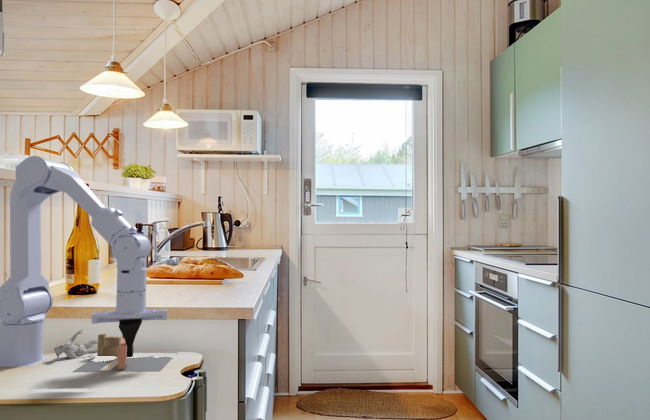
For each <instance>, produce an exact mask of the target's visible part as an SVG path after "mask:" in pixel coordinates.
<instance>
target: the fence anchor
mask: <svg viewBox="0 0 650 420" xmlns="http://www.w3.org/2000/svg"><path fill="white" fill-rule="evenodd" d="M121 336H122V337H121ZM121 336H107V333H99V334H98V336H97V340H98V343H97V347H98V352H96V353H97V354H96V356H118V346H119V345H121V342H122V338H124V337H123V335H122V334H121Z"/></svg>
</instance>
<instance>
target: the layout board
mask: <svg viewBox="0 0 650 420" xmlns="http://www.w3.org/2000/svg"><path fill="white" fill-rule="evenodd" d="M133 353H177V354H178V353H179V352H178V351H172V352H171V351H169V352H167V351H166V352H165V351H153V352H151V351H150V352H148V351H146V352H145V351H140V352H137V351H135V352H134V351H133ZM115 357H117V358H116V359H114V360H111V361H110V360H109V361H105V362H104V361H102V362H100V361H99V362H94V361H90V360H89V361H87V362H86V363H85V362H84V364H82V365H81V366H79V367H78V368H75V369H74V370H73V371H72V373H105V372H106V373H108V372H109V373H113V372H114V373H116V372H118V373H120V372H122V373H123V372H125V373H126V372H129V373H130V372H131V373H132V372H133V373H134V372H135V373H136V372H146V373H147V372H161V371H162V370H163V369H164V368H165V367H166V366H167V365H168V364H170V362H171V361H172V359H173V358H172V357H171V358H170V357H166V356H165V357H159V358H155V357H154V358H153V356H151V357H150V356H149V357H142V358H141V357H139V358H138V357H137V358H134V357H133V358H127V357H126V367H125V369H118V356H115Z"/></svg>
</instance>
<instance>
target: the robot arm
mask: <svg viewBox="0 0 650 420" xmlns="http://www.w3.org/2000/svg"><path fill="white" fill-rule="evenodd" d="M60 192H63V193H66V195H68V196H69V197H70V198H71V199H72V200H73V201H74V202H75V203H76V204H77V205H78V207H80V208H81V209H82V210H84V211H85V212H86V213H87V214H88V215H89V216H90V217H91V221H90V222H91V223H90V224H91V227H92V228H93V229H94V230H95V231H96V232H97V233H98V234H99V235H100V236H101V237H102V238H103V239H104V240H105V241H106V242H107V244H108V245H110V246H111V254H112V256H113V257H114V258H115V261H116V269H117V271H116V272H117V273H116V296H115V298H116V300H115V301H116V303H115V307H116V308H115V310H112V311H102V312H93V313H92V314H91V324H92V325H93V324H95V325H96V324H100V323H102V324H104V323H118V322H119V324H118V329H119V331H120V332H121V336H122V335H123V337H124V339H125V342H126V345H127V357H132V356H133V352H134V342H135V339H136V336H137V334H138V331H139V330H140V327H141V325H142V323H143V321H157V320H161V321H167V320H168V309H167V308H166V309H163V308H162V309H146V302H147V270H148V269H147V263H148V262H147V261H148V260H147V259H148V257H149V256H150V255H151V252H152V249H153V248H152V247H153V245H152V242H151V240H150V239H149V237H148V235H146V234H144V233H141V232H138V228H136V226H132V225H131V224H130V223H129V222H128V221H127V220H126V219H125V217H123V215H124V212H122V211H121V210H120V209H116V208H115V207H106V206H105V205H104V204H103V203H102V202H101V200H100V199H99V198H98V197H97V195H95V194H94V192H93V191H92V190H91V189H90V187H89V186H88V185H87V184H86V183H85V182H84V180H83V179H82V178H81V176H80V173H78V172H77V171H76V170H75V169H73V167H72V166H71V165H70V164H68V163H66V162H63V161H62V162H61V161H55V160H52V159H47V158H44V157H41V156H40V155H39V156H38V155H31V156H30V155H29V156H28V157H25V158H24V159H23V160H22V161H21V162H20V163H19V164H17V165H16V166H15V181H14V184H13V185H12V189H11V190H10V192H9V193H10V194H9V213H10V214H9V215H10V216H9V226H10V227H9V230H10V231H9V233H10V234H9V236H10V237H9V241H10V242H9V244H10V252H9V253H10V255H9V256H10V258H9V259H10V261H9V262H10V264H9V265H10V269H9V270H10V271H9V272H10V276H9V277H8V279H7V280H5V282H3V284H2V285H1V286H0V367H33V366H35V365H37V364H38V363H40V362H43V361H44V360H47V359H48V358H50V357H51V356H52V355H49V354H45V355H44V353H43V352H44V338H45V337H44V336H45V335H44V334H45V319H46V318H47V314H48V313H49V312H50V310H51V309H52V307H53V305H54V298H53V297H54V296H53V294H52V293H51V291H50V284H49V283H50V282H49V281H48V279H46V278H45V277H44V276H43V275H42V238H41V237H42V235H41V233H42V232H41V231H42V229H41V228H42V225H41V224H42V223H41V220H42V219H41V214H42V213H41V204H42V203H43V202H45V200H47V199H48V198H49V197H50V196H53V195H55V194H57V193H60Z"/></svg>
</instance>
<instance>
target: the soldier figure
mask: <svg viewBox="0 0 650 420" xmlns="http://www.w3.org/2000/svg"><path fill="white" fill-rule="evenodd" d="M83 331H84V329H81V330H79V331H77V332H76V333H74V334H73V336H71V337H70V338H69V339H68V341H67V342H65V343H64V344H63V345H59V346H57V347H54V349H53V350H54V353H55V355H56V358H57V359H58V358H59V357H60V355H62V354H63V353H64V355H66V357H68V358H69V359H71V360H72V359H73V360H74V359H86V357H90V358H92V357H91V356H94V354H95V353H98V346H96V347H93V348H91V347H92V346H93V345H96V344H97V345H98V339H95V338H92V339H90V340H88V341H86V342H85V343H84V344H79V343H74V342H75V339H77V337H78V335H83V333H81V332H83ZM87 353H91V355H90V354H89V355H88V354H87ZM84 355H87V356H84Z"/></svg>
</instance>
